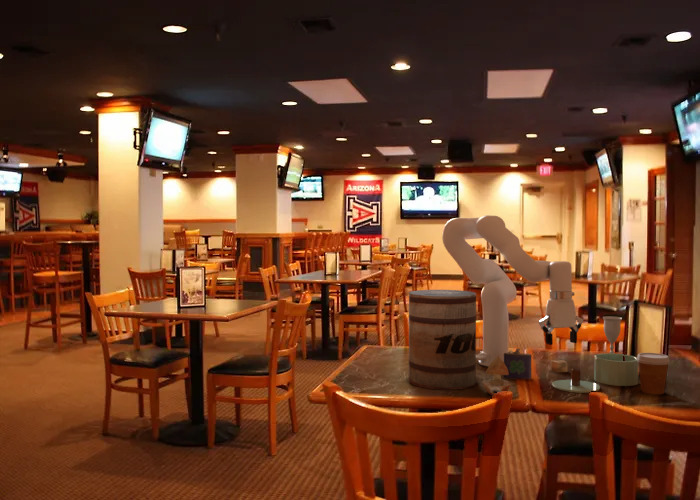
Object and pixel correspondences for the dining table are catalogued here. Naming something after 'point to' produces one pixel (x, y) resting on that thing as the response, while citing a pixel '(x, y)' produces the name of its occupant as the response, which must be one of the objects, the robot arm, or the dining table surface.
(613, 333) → the chalice
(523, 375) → the flask
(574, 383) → the lid
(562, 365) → the block
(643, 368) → the disposable coffee cup
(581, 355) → the dining table surface
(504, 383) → the oil lamp
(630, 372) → the canister
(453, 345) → the barrel
